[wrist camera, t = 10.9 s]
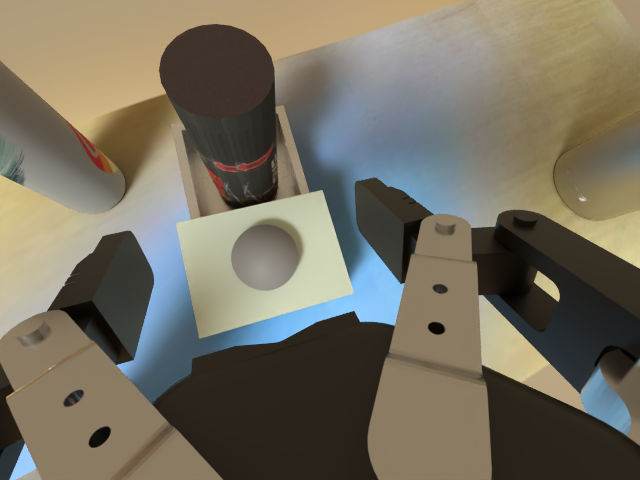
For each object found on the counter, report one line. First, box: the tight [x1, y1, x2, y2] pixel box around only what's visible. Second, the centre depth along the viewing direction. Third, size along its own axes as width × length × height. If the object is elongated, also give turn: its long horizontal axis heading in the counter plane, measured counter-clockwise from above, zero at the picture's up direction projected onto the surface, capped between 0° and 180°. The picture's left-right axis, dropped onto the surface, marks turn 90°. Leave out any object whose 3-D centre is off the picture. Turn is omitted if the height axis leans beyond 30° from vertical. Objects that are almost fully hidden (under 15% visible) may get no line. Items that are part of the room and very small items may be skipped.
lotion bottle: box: [0, 61, 126, 214], centre depth 20 cm, size 6×6×20 cm
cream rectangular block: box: [176, 190, 354, 339], centre depth 27 cm, size 12×9×7 cm
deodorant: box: [159, 24, 278, 209], centre depth 24 cm, size 6×6×15 cm
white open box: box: [171, 105, 309, 220], centre depth 30 cm, size 11×10×4 cm
